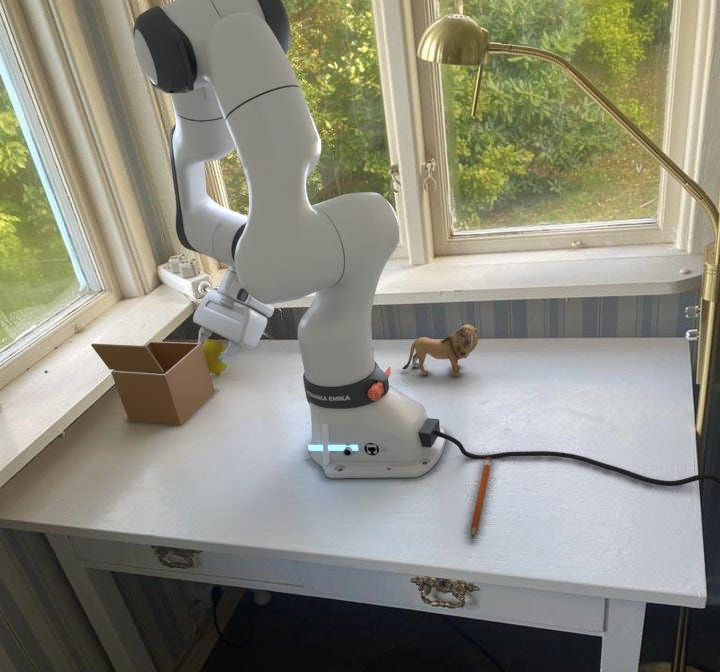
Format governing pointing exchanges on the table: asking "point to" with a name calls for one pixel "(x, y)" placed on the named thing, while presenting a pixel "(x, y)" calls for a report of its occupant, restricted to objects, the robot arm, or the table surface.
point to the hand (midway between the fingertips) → (210, 356)
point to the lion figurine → (444, 348)
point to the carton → (166, 384)
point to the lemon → (214, 356)
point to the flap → (127, 357)
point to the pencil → (480, 497)
